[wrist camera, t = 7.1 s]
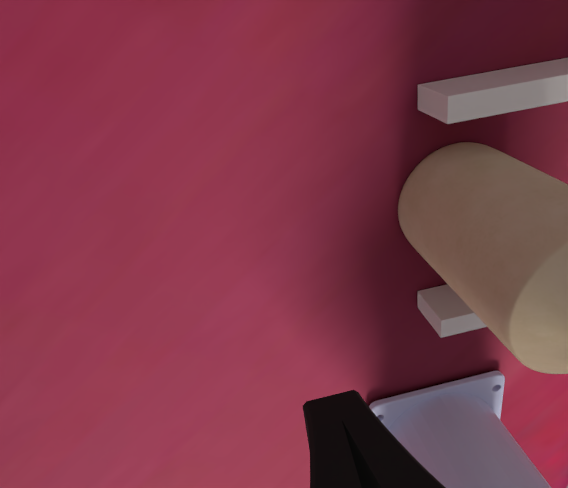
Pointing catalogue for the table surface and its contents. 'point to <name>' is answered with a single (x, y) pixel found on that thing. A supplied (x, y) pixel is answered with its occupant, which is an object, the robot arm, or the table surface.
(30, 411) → the table surface
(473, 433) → the robot arm
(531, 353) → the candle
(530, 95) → the box
